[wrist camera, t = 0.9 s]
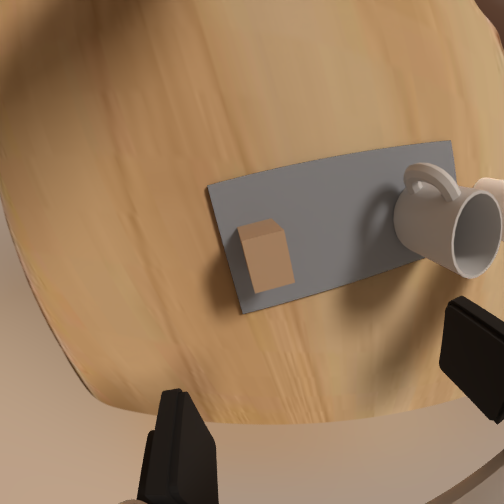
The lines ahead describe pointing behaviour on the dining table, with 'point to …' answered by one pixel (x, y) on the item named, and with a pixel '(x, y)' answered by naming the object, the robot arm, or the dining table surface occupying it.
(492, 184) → the cylindrical container
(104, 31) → the dining table surface
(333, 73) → the dining table surface
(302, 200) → the strip
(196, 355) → the dining table surface
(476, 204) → the cup
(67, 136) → the dining table surface
